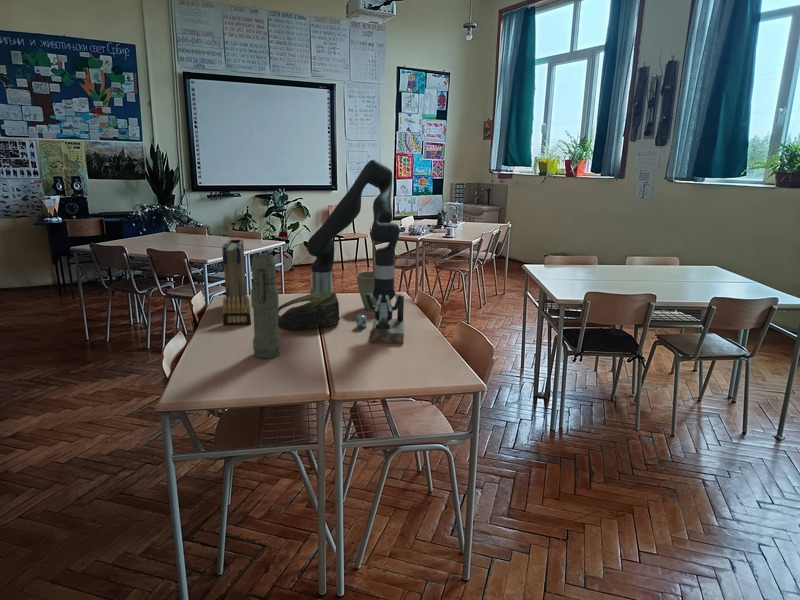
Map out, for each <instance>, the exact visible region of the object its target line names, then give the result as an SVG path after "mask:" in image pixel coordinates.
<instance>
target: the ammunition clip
mask: <svg viewBox="0 0 800 600" xmlns="http://www.w3.org/2000/svg"><path fill="white" fill-rule="evenodd" d="M222 298H223V299H222V326H224V327H225V326H227V327H228V326H229V327H230V326H235V327H236V326H252V318H251V306H250V298H249V296H248V295H246V307H245V303H244V297H243V296H242V299H241V306H240V300H239V296H237V306H236V304H235V298H234V296H233V298H232V306H231V300H230V297H229V296H228V306H227V305H226V295H224V296H223V297H222ZM236 309H237V312H236ZM227 310H228V312H227Z"/></svg>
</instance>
